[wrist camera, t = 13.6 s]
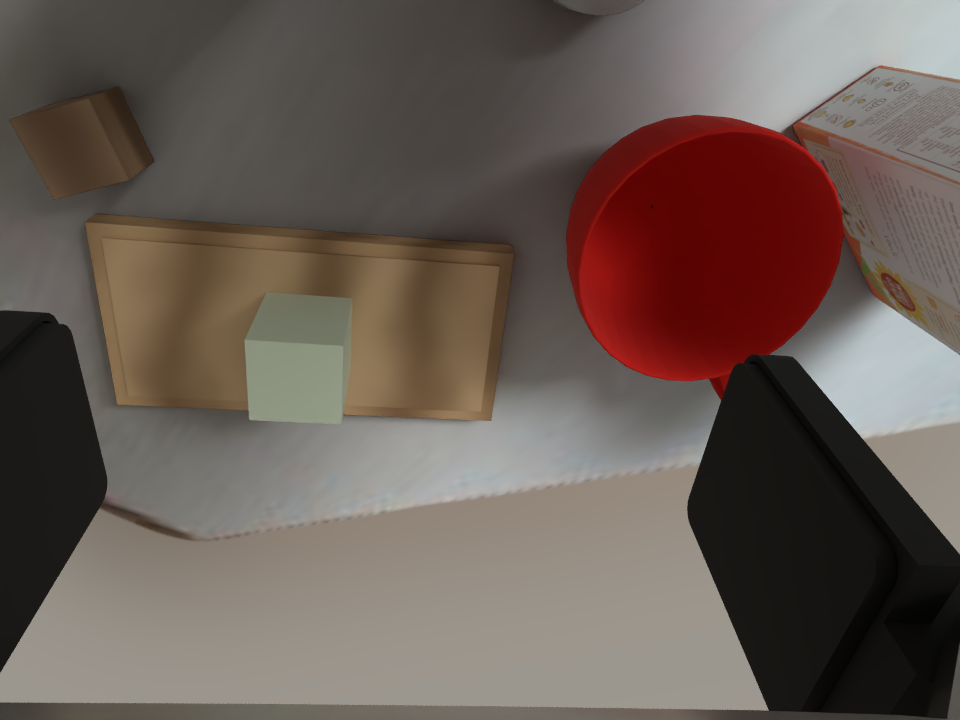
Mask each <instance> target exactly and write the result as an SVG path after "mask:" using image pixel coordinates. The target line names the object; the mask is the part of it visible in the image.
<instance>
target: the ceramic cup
mask: <svg viewBox="0 0 960 720" xmlns="http://www.w3.org/2000/svg"><path fill="white" fill-rule="evenodd" d="M842 241H843V216H842V209H841V206H840V202H839V198H838V195H837V191H836V188H835V187H834V185H833V183H832V181H831V180H830V178H829V176H828V174H827V172H826V171H825V169H824V167H823V166H822V165H821V164H820V163H819V162H818V161H817V160H816V159H815V158H814V157H813V156H812V155H811V154H810V153H809V152H808V151H807V149H805V148H804V147H802V146H801V145H799V144H797V143H796V142H794V141H793V140H791V139H789V138H788V137H786V136H784V135H783V134H781V133H779V132H776V131H774V130H771V129H767V128H764V127H761V126H758V125H755V124H751V123H748V122H745V121H741V120H737V119H733V118H727V117H716V116H703V115H692V116H684V117H676V118H668V119H664V120H661V121H658V122H655V123H652V124H649V125H646V126H643V127H641V128H639V129H638V130H636V131H634V132H632V133H630V134H629V135H627V136H625V137H623V138H622V139H620V140H619V141H618V142H617V143H616V144H614V145H613V146H612V147H611V148H610V149H608V150H607V151H606V152H605V153H604V154H603V155H602V156H601V157H600V158H599V160H598V161H597V162H596V163H595V164H594V165H593V167H592V168H591V169H590V170H589V172H588V173H587V175H586V177H585V178H584V180H583V182H582V183H581V185H580V187H579V189H578V191H577V193H576V196H575V199H574V202H573V205H572V207H571V210H570V214H569V221H568V227H567V234H566V246H567V265H568V270H569V275H570V278H571V282H572V286H573V290H574V294H575V297H576V301H577V304H578V307H579V310H580V312H581V314H582V316H583V318H584V320H585V322H586V324H587V326H588V327H589V329H590V331H591V333H592V335H593V336H594V338H595V339H596V340H597V341H598V342H599V343H600V344H601V346H602V347H603V348H604V349H605V350H606V351H607V352H608V353H609V354H610V355H611V356H613V357H614V358H615V359H617V360H618V361H619V362H621V363H622V364H623V365H625V366H626V367H628V368H631V369H633V370H635V371H637V372H640V373H642V374H644V375H647V376H651V377H656V378H661V379H665V380H677V381H695V380H703V379H709V380H710V382H711V384H712V386H713V387H714V389H715V391H716V393H717V394H718V396H719V398H720V399H721V400H722V397H723V394H724V391H725V388H726V385H727V382H728V379H729V376H730V373H731V371H732V369H733V367H734V366H735V365H736V364H738V363H744V361H745V360H746V359H747V357H748V356H750V355H752V354H759V355H769V354H771V353H772V352H774V351H775V350H777V349H778V348H779V347H781V346H782V345H783V344H785V343H786V342H787V341H788V340H789V339H790V338H791V337H792V336H793V335H794V334H796V333H797V332H798V331H799V330H800V329H801V328H802V327H803V326H804V324H805V323H806V322H807V321H808V319H809V318H810V317H811V316H812V315H813V313H814V312H815V311H816V310H817V308H818V307H819V305H820V303H821V301H822V300H823V298H824V296H825V294H826V293H827V291H828V289H829V287H830V286H831V283H832V280H833V277H834V275H835V272H836V269H837V266H838V263H839V259H840V253H841V247H842Z"/></svg>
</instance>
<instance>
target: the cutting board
mask: <svg viewBox="0 0 960 720" xmlns="http://www.w3.org/2000/svg"><path fill="white" fill-rule="evenodd" d="M85 226H86V232H87V238H88V243H89V249H90V254H91V260H92V266H93V271H94V277H95V282H96V288H97V294H98V299H99V305H100V310H101V316H102V322H103V327H104V333H105V339H106V344H107V350H108V355H109V361H110V367H111V372H112V378H113V383H114V389H115V395H116V400H117V405H137V406H160V407H183V408H206V409H230V410H249V409H248V392H247V374H246V357H245V338H246V336H247V333H248V331H249V329H250V327H251V325H252V323H253V320H254V318H255V316H256V314H257V312H258V310H259V307H260V305H261V303H262V301H263V299H264V297H265V294H266V292H271V293H285V294H299V295H313V296H327V297H341V298H352V331H351V367H350V376H349V382H348V388H347V394H346V400H345V406H344V412H343V414H345V415H368V416H391V417H414V418H437V419H460V420H483V421H491V418H492V410H493V403H494V396H495V389H496V382H497V375H498V368H499V360H500V353H501V346H502V339H503V332H504V325H505V317H506V310H507V303H508V296H509V289H510V282H511V275H512V267H513V260H514V252H513V249H512V246H511V245H502V244H489V243H476V242H462V241H449V240H436V239H423V238H409V237H396V236H383V235H370V234H356V233H343V232H330V231H316V230H303V229H290V228H277V227H263V226H250V225H237V224H224V223H210V222H197V221H184V220H171V219H157V218H144V217H131V216H118V215H104V214H95V215H94V216H92V217H91V218H90V219H88V220H87V221H86V222H85Z"/></svg>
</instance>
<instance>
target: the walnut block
mask: <svg viewBox="0 0 960 720" xmlns="http://www.w3.org/2000/svg"><path fill="white" fill-rule="evenodd" d="M9 121H10V122H11V124H12V126H13V128H14V130H15V131H16V133H17V135H18V137H19V138H20V140H21V142H22V144H23V146H24V147H25V149H26V151H27V153H28V154H29V156H30V158H31V160H32V162H33V163H34V165H35V167H36V169H37V171H38V172H39V174H40V176H41V178H42V179H43V181H44V183H45V185H46V187H47V188H48V190H49V192H50V194H51V195H52V197H53V199H54V200H55V199H59V198H63V197H67V196H71V195H74V194H78V193H82V192H86V191H90V190H94V189H97V188H101V187H105V186H109V185H113V184H117V183H120V182H124V181H128V180H130V179H131V178H133V177H134V176H135V175H137V174H138V173H139V172H141V171H142V170H143V169H145V168H146V167H147V166H149V165H150V164H151V163H153V162H154V159H153V157H152V155H151V153H150V151H149V149H148V147H147V144H146V142H145V140H144V138H143V136H142V134H141V132H140V130H139V127H138V125H137V123H136V121H135V119H134V117H133V115H132V113H131V110H130V108H129V106H128V104H127V102H126V100H125V98H124V96H123V93H122V91H121V89H120V87H115V88H111V89H107V90H104V91H100V92H96V93H92V94H89V95H85V96H81V97H77V98H74V99H70V100H66V101H62V102H59V103H55V104H51V105H47V106H45V107H42V108H39V109H37V110H34V111H31V112H29V113H26V114H23V115H21V116H18V117H15V118H13V119H10V120H9Z"/></svg>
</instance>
